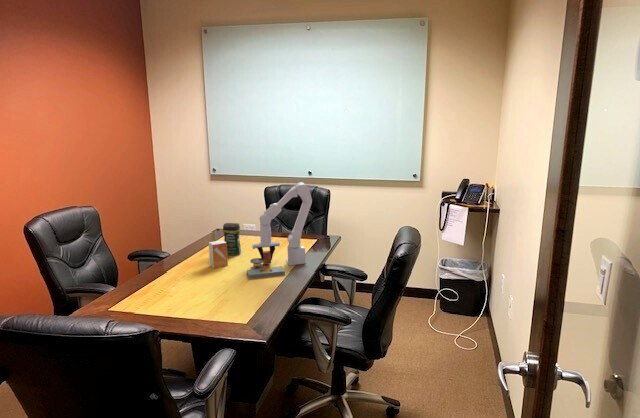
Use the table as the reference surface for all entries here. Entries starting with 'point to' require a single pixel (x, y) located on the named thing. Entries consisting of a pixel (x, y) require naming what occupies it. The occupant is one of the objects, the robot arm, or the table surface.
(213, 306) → the table surface
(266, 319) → the table surface
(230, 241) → the coffee jar
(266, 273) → the notched board
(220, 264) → the small box
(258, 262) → the bobbin
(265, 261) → the block
